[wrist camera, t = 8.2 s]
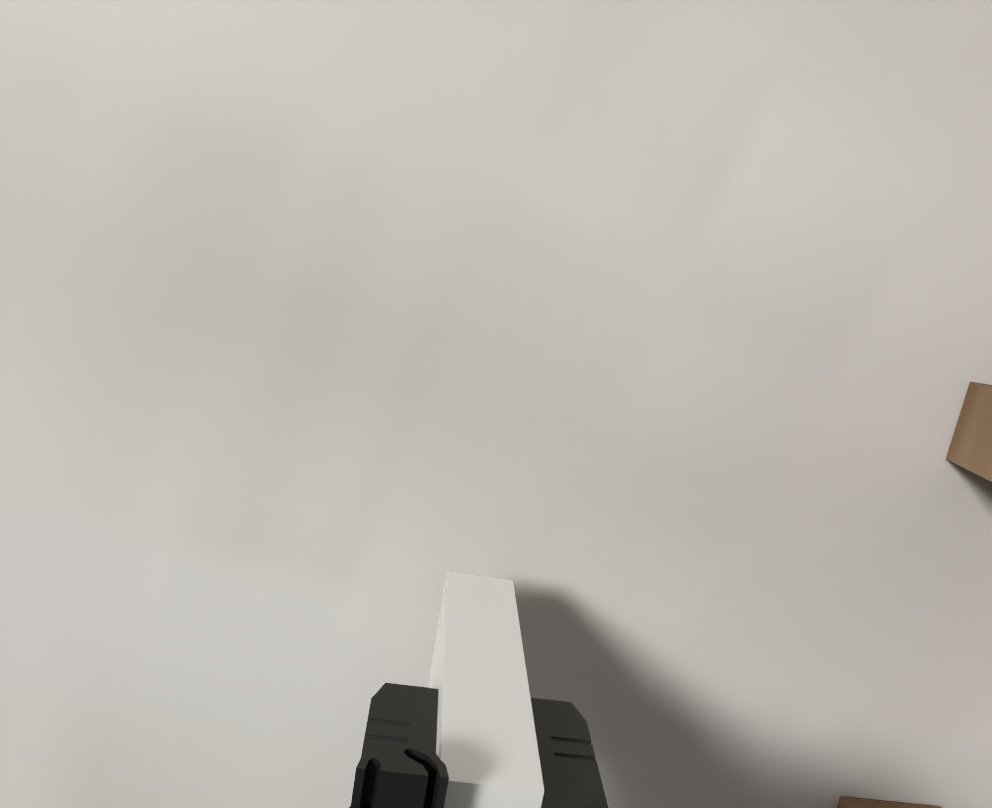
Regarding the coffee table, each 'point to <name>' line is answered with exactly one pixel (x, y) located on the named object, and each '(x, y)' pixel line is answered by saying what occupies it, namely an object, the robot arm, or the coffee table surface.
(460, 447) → the coffee table surface
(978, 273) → the coffee table surface
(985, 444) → the bridge
